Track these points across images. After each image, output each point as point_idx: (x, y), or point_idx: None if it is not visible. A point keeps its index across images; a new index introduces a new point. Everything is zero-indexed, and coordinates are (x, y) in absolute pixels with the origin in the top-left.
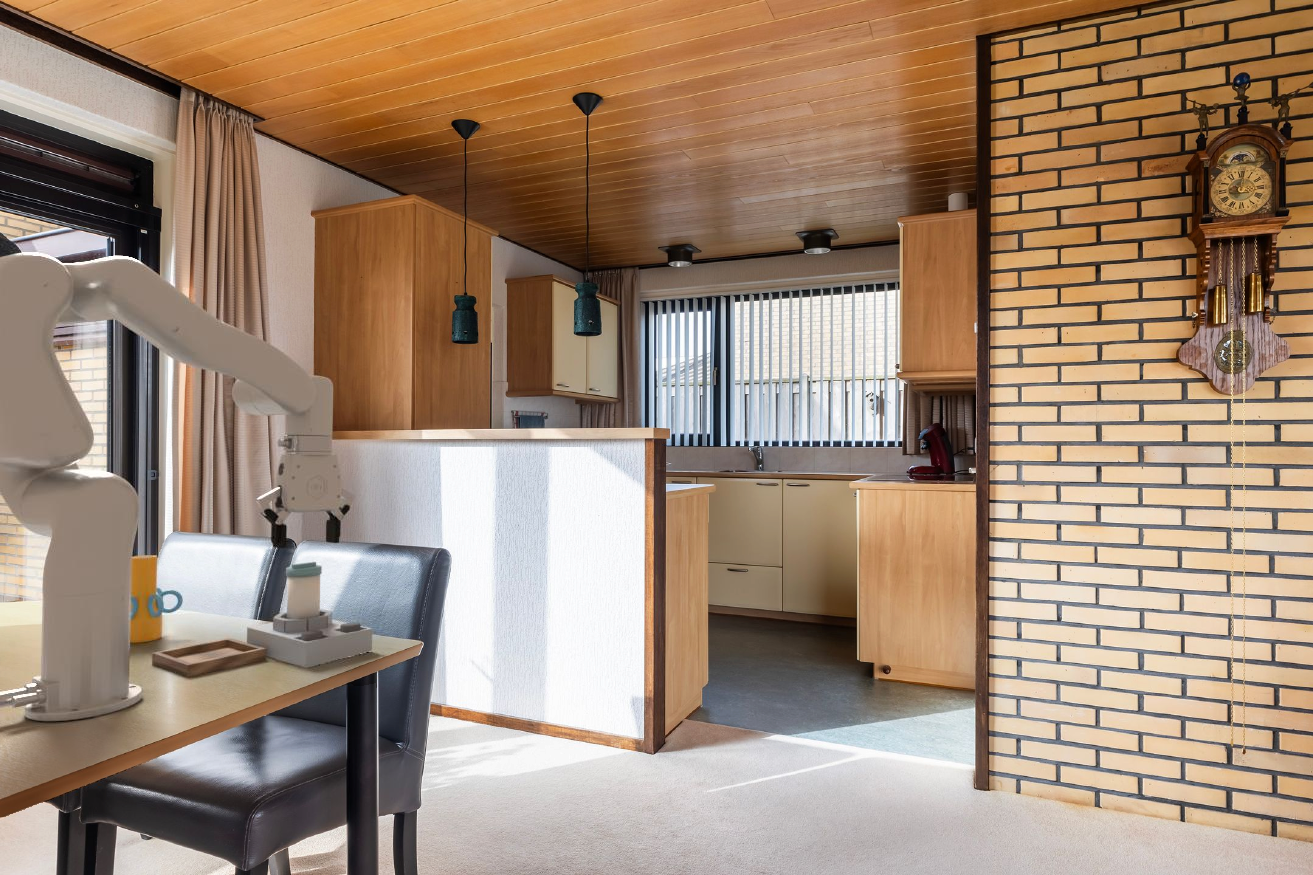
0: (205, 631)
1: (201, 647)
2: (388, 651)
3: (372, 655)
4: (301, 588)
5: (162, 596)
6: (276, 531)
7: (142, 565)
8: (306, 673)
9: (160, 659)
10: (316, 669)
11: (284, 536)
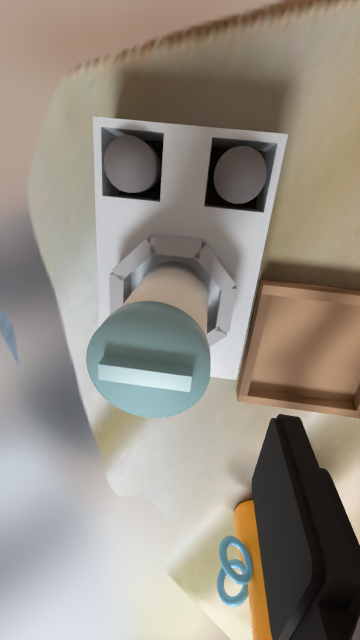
0: (185, 488)
1: (288, 398)
2: (87, 94)
3: (130, 97)
4: (192, 305)
5: (246, 573)
6: (356, 541)
7: None
8: (305, 99)
9: None
10: (272, 110)
11: (308, 470)
